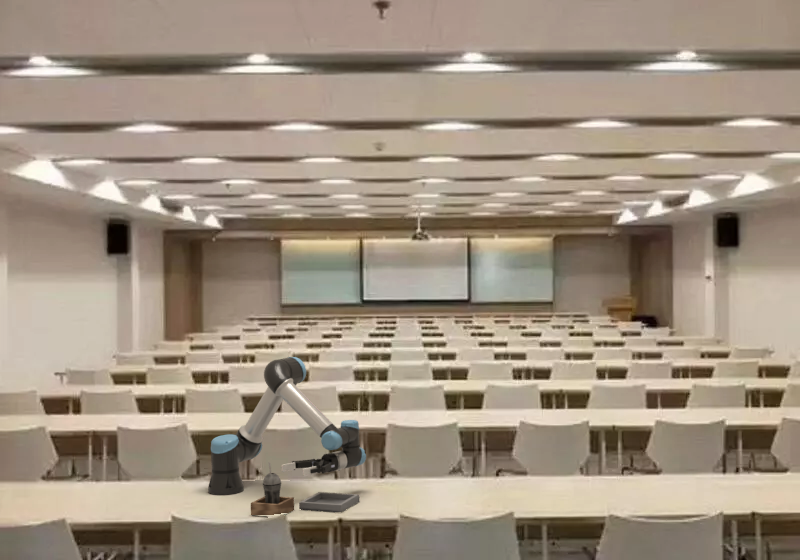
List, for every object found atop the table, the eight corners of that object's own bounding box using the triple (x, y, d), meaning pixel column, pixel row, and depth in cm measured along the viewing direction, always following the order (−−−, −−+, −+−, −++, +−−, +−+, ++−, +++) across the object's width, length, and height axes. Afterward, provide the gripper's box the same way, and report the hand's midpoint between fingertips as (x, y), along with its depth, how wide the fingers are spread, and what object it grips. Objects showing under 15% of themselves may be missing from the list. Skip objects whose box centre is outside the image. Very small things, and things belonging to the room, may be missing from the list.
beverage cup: (286, 511, 384) (284, 460, 383) (274, 516, 377) (272, 464, 377) (271, 509, 387) (269, 459, 387) (259, 514, 381) (258, 462, 381)
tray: (299, 509, 386) (299, 502, 386) (319, 499, 403) (319, 491, 403) (340, 512, 380) (340, 505, 380) (359, 501, 396) (359, 494, 396)
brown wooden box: (250, 515, 379) (250, 502, 379) (266, 508, 390) (266, 495, 390) (279, 518, 374) (279, 504, 374) (294, 510, 386) (293, 497, 386)
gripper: (353, 474, 395) (312, 484, 380) (314, 467, 413) (274, 476, 398) (353, 455, 394) (311, 464, 380) (314, 449, 412) (273, 457, 398)
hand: (292, 470), depth 389 cm, fingers open, 13 cm apart
